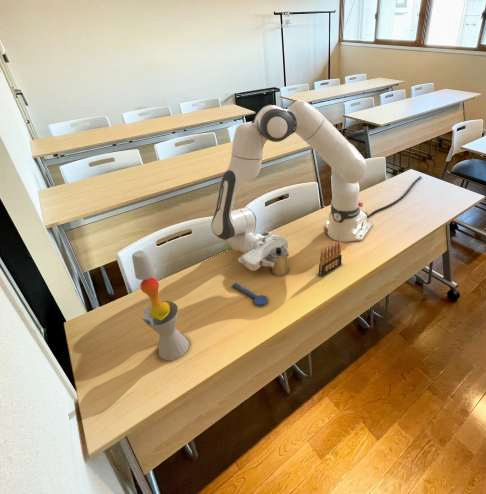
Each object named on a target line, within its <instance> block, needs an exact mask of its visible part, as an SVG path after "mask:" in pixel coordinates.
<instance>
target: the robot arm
mask: <svg viewBox="0 0 486 494" xmlns="http://www.w3.org/2000/svg"><path fill="white" fill-rule="evenodd" d="M293 134H296V135H298V136H299V137H300V139H302V141H304V142H305V143H306V144H307V145H308V146H309V147H310V148H311V149H313V150H314V151H315V152H316V153H317V154H318V155H319V156H320V157H321V159H323V161H324V162H325V163H326V164H327V165H328V166H329V167H330V170H331V184H332V198H331V199H332V200H331V201H332V202H331V205H330V212H329V213H328V221H326V225H325V229H326V230H327V235H328V237H329V238H331V240H334V241H337V242H338V241H339V239H340V242H341V243H342V242H343V243H345V242H347V243H348V242H352V241H353V242H354V241H362V240H363V239H364V238H365V236H366V235H367V233H368V232H369V230H370V229H371V227H372V222H371V221H369V220H368V218H371V217H372V216H374V215H375V214H376V213H377V212H380V211H383V210H385V209H388V208H389V207H391V206H393V205H395V204H397V203H398V202H399V201H401V200H402V199H403V198H404V197H406V196H407V194H408V193H409V192H410V191H411V189H412V188H414V186H415V184H416V183H417V182H418V181H419V180H420V179H422V176H421V175H420V176H419V177H418V178H417V179H415V181H414V182H412V184H411V185H410V186H409V188H408V189H407V190H406V191H405V192H404V193H403V194H402V195H401V196H400V197H399V198H398V199H396V200H395V201H393V202H390V203H389V204H387V205H385V206H383V207H380V208H377V209H375V210H374V211H372V212H371V213H370V214H369V215H368V212H365V211H363V210H361V208H363V206H364V202H361V201H359V200H360V189H361V188H360V184H359V183H360V182H362V181H363V180H364V179H365V178H366V176H367V173H368V165H367V162H366V159H365V157H364V156H363V155H362V154H361V152H360V151H359V150H358V149H357V148H356V147H355V145H354V144H352V143H351V142H349V140H348V139H346V138H345V136H344V135H343V134H342V133H341V132H340V131H339V130H338V129H337V128H336V127H335V125H333V124H332V123H331V122H330V121H329V119H328V118H327V117H325V115H323V114H322V113H321V112H320V111H319V110H318V109H317V108H315V107H314V106H313V105H312V104H311V103H308V101H306V100H303V99H299V100H296V101H294V102H293V103H292V104H291V105H290V106H289V107H287V108H285V109H284V108H282V107H280V106H278V105H275V104H271V103H269V104H265V105H264V106H262V107H260V109H259V110H258V111H257V113H255V115H254V117H253V118H252V120H251V122H244V123H241V124H239V125H237V127H236V129H235V132H234V135H233V138H232V139H233V140H232V144H231V145H232V147H231V156H230V160H229V164H228V167H227V169H226V171H225V172H224V173H223V175H222V177H221V180H220V185H219V192H218V196H217V200H216V207H215V211H214V214H213V217H212V219H211V225H210V227H211V231H212V233H213V234H214V235H215V236H216V237H217V238H219V239H222V240H223V242H224V243H225V244H226V245H227V246H229V247H230V248H231V249H233V250H234V251H237V252H241V253H242V255H240V256H238V259H237V262H238V263H240V264H241V265H244V267H245V268H246V269H248V270H250V271H251V272H256V271H257V270H258V269H260V268H262V267H270V268H272V267H274V266H275V265H276V263H275V262H274V261H271V255H270V250H271V249H273V248H275V247H284V248H286V249H287V250H288V248H289V242H288V239H286V238H285V237H284V236H281V235H277V234H273V233H272V232H271V231H266V232H263V233H259V234H258V233H257V234H255V231H256V227H257V216H256V214H255V212H254V211H253V210H252V209H250V208H249V207H245V206H244V207H240V208H237V209H233V208H234V204H235V203H234V202H235V198H236V195H237V193H238V191H239V190H241V188H242V187H243V186H245V185H246V184H248V183H249V182H251V181H253V180H255V178H256V177H258V175H259V174H260V171H261V169H262V163H263V153H264V152H263V151H264V147H265V144H266V142H267V141H270V142H273V143H278V142H282V141H284V140H286V139H288V138H289V137H290V136H291V135H293ZM289 256H290V253H289V252H288V254H287V258H288V257H289Z"/></svg>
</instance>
